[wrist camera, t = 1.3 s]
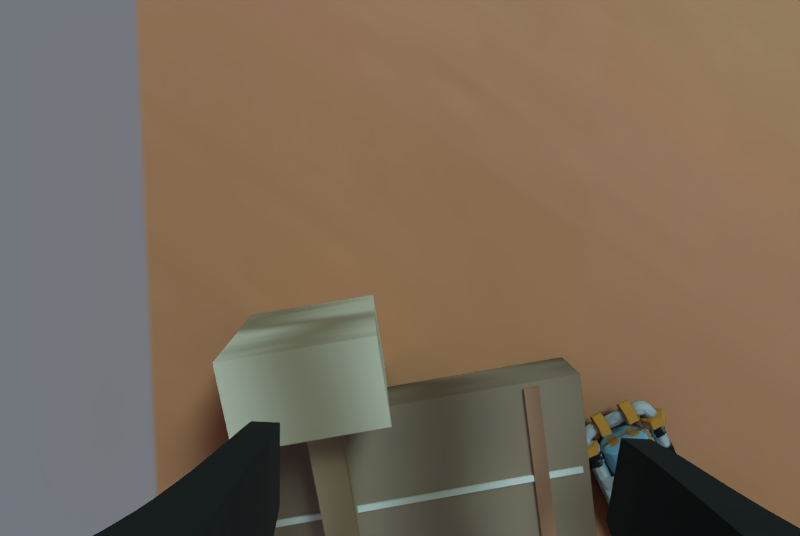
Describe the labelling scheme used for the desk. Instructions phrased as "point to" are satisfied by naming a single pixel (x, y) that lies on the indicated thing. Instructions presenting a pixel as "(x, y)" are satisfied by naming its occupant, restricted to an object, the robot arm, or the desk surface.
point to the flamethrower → (611, 438)
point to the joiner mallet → (311, 389)
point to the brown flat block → (463, 460)
